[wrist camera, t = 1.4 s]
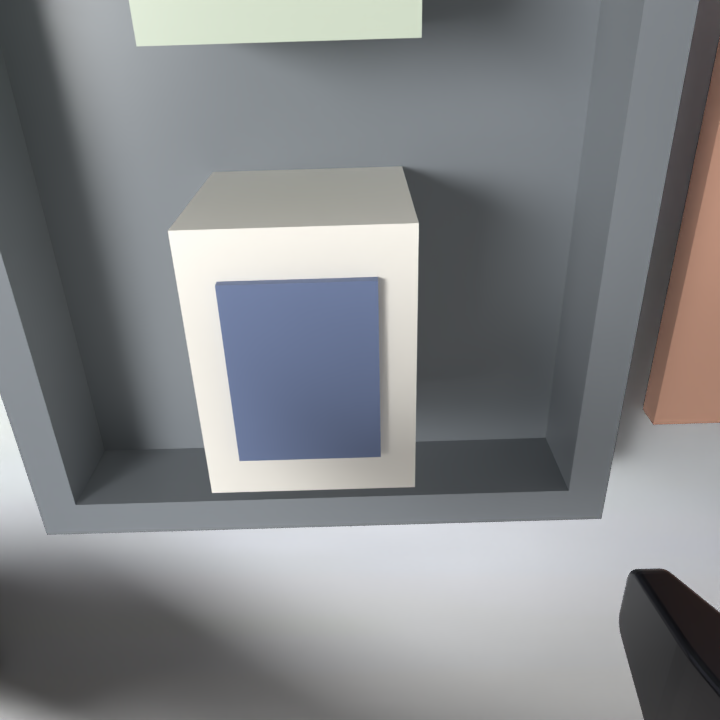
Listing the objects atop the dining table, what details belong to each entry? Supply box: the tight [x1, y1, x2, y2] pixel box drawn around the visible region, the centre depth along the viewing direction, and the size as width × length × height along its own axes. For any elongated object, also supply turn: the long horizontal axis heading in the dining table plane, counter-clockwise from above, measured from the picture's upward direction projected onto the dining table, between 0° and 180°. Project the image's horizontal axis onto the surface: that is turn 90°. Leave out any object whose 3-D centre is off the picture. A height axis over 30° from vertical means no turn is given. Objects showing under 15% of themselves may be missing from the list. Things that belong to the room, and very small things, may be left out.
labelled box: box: [168, 166, 419, 493], centre depth 15 cm, size 6×4×5 cm
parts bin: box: [0, 0, 699, 535], centre depth 14 cm, size 21×15×3 cm
